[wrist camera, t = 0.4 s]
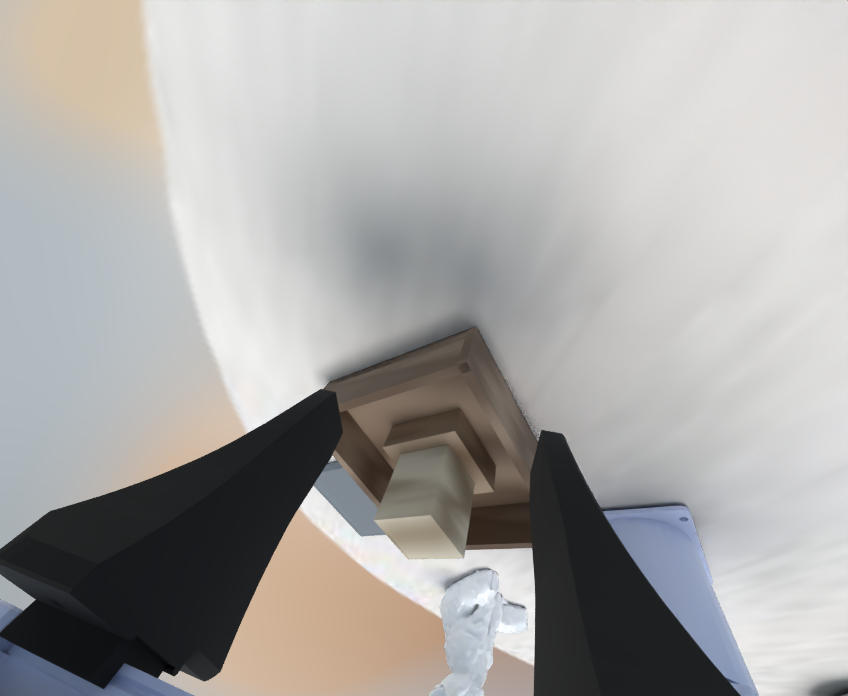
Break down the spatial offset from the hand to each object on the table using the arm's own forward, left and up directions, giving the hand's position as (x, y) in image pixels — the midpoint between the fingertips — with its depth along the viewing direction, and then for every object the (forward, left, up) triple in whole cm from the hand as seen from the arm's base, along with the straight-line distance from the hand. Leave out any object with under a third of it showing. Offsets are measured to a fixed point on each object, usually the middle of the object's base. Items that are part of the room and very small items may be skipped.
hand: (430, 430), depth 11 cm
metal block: (-9, +7, -7) cm, 13 cm away
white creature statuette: (-32, +15, -10) cm, 37 cm away
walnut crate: (-9, +7, -10) cm, 15 cm away
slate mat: (-14, +19, -10) cm, 25 cm away
